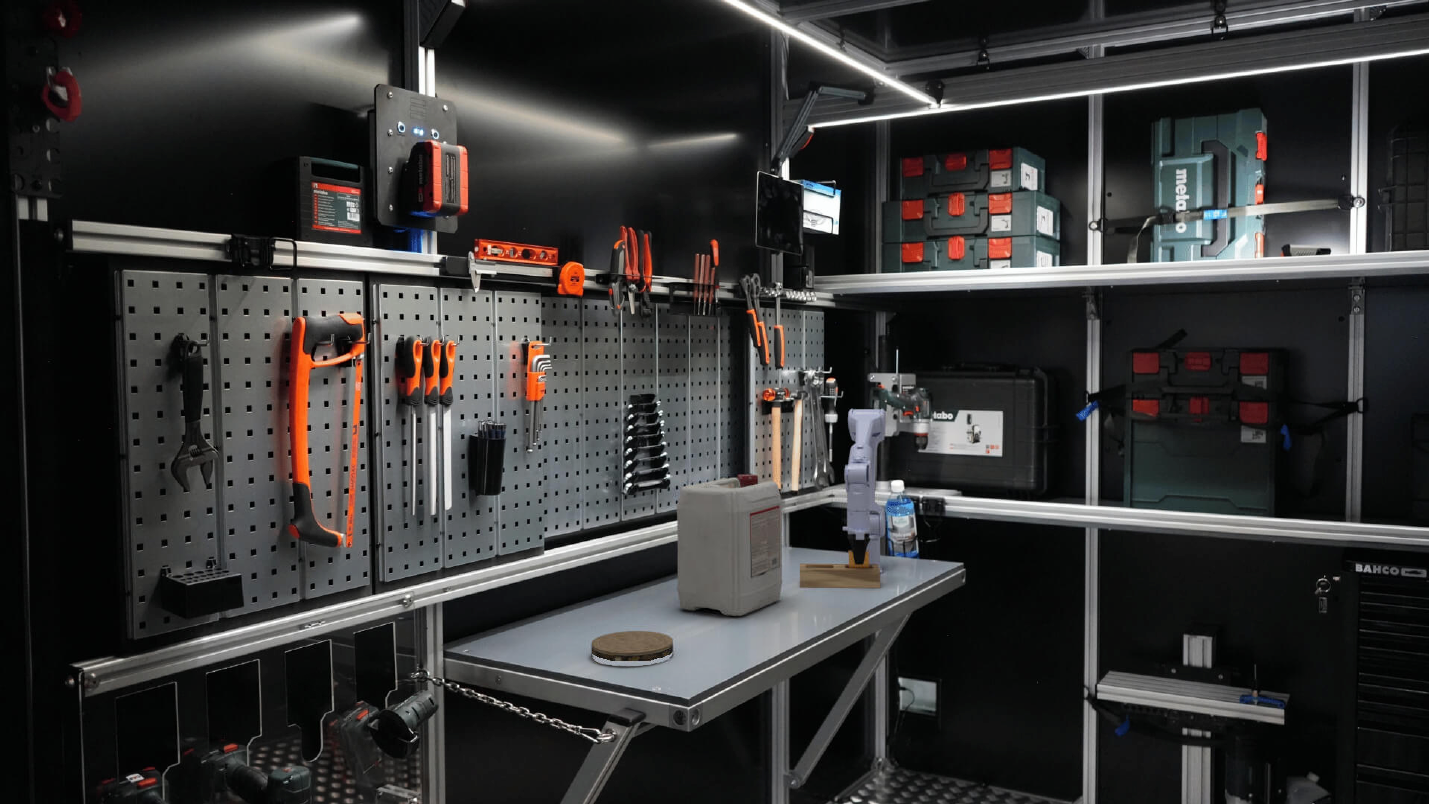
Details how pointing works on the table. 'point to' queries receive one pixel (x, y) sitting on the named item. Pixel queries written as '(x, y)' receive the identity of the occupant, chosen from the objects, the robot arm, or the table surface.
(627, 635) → the brown round disc
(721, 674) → the table surface
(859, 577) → the slotted wooden block
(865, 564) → the orange wooden block
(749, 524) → the jerry can
